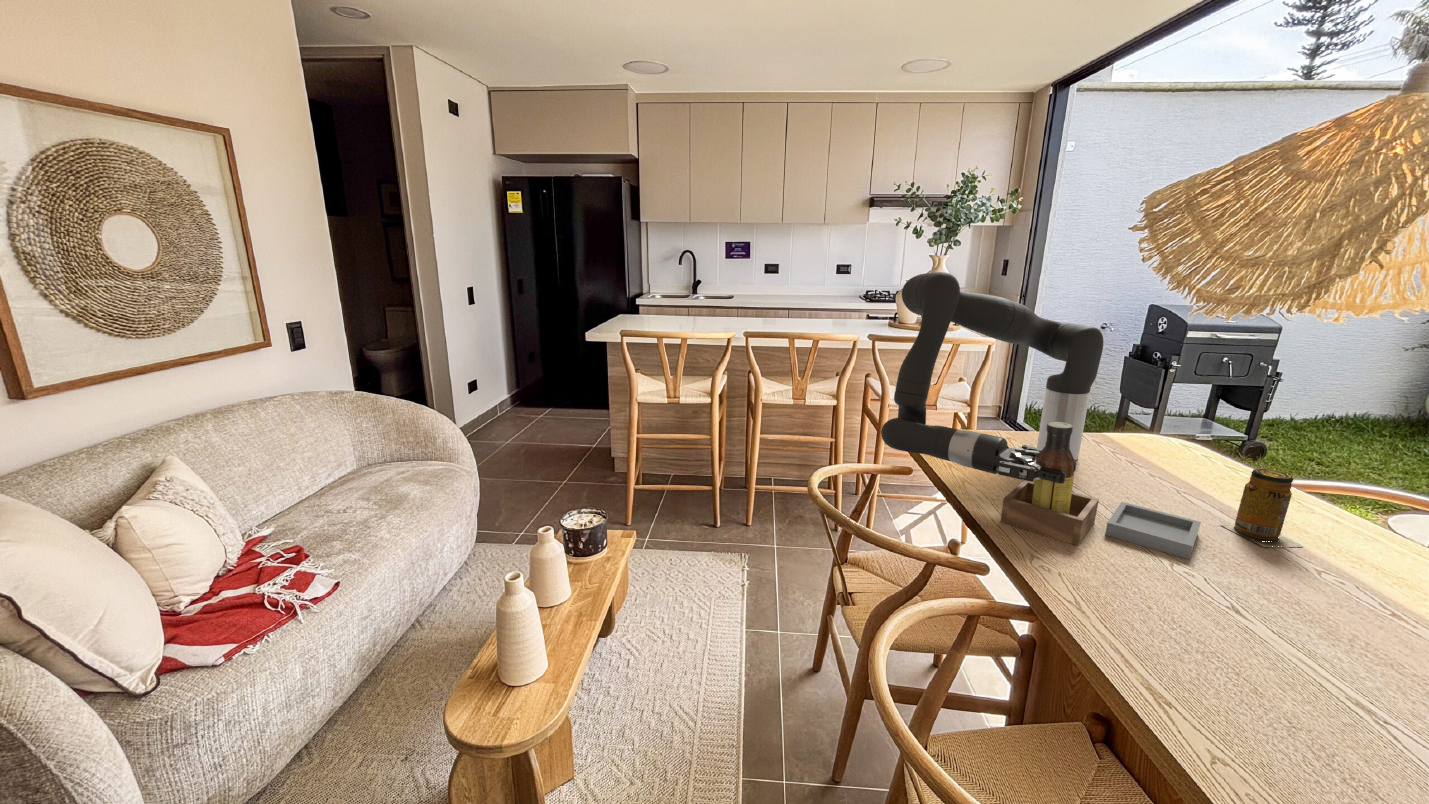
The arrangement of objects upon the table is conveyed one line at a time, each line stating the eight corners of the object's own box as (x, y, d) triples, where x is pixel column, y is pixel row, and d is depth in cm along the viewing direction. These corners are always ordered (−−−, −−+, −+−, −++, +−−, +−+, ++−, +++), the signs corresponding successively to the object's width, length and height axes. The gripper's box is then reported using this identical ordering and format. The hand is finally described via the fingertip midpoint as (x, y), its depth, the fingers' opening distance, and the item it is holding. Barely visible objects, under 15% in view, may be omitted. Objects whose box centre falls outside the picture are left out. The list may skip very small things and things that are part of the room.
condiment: (1256, 524, 104) (1272, 465, 101) (1303, 547, 96) (1323, 484, 93) (1218, 525, 104) (1234, 466, 101) (1263, 548, 96) (1281, 485, 93)
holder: (1021, 501, 115) (1024, 479, 113) (1094, 522, 106) (1098, 499, 104) (1000, 521, 107) (1003, 498, 105) (1077, 546, 98) (1082, 520, 96)
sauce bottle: (1067, 520, 107) (1085, 423, 101) (1066, 533, 102) (1084, 432, 96) (1029, 511, 110) (1044, 417, 105) (1026, 524, 105) (1041, 426, 100)
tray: (1119, 513, 109) (1121, 501, 109) (1197, 534, 101) (1200, 521, 100) (1105, 534, 101) (1107, 522, 101) (1189, 559, 93) (1192, 546, 92)
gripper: (965, 442, 107) (1062, 464, 96) (992, 425, 117) (1084, 444, 105) (961, 477, 109) (1056, 503, 98) (988, 458, 119) (1077, 480, 107)
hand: (1070, 472), depth 101 cm, fingers closed on sauce bottle, 6 cm apart
